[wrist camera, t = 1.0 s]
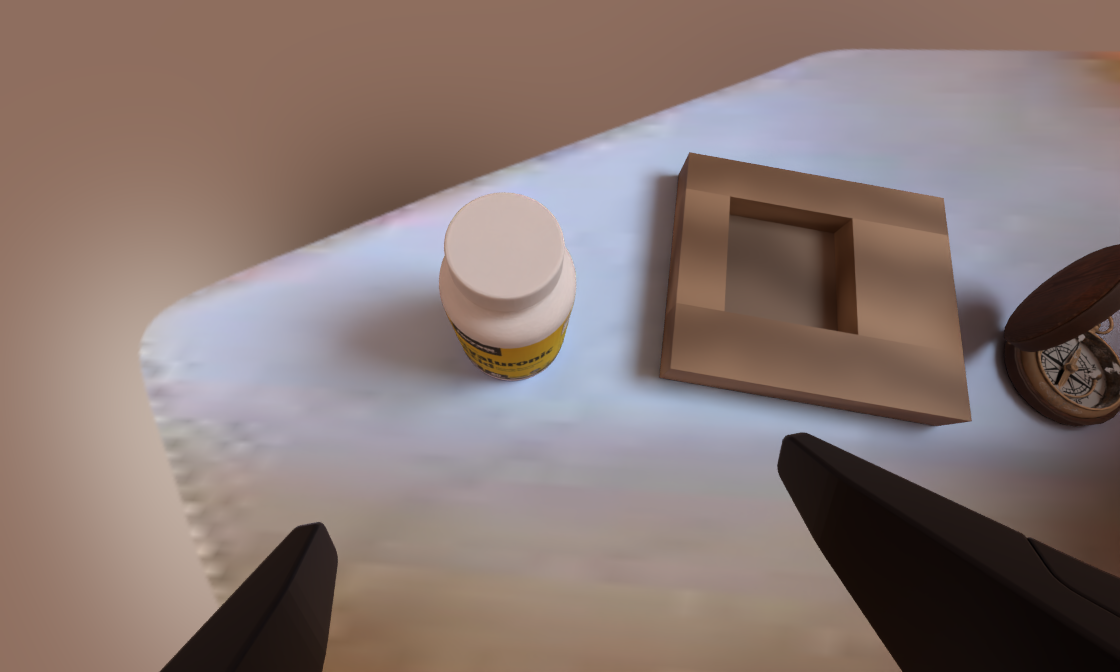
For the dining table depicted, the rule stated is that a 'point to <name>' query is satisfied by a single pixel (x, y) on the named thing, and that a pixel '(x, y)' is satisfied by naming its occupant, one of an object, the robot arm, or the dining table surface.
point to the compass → (1069, 342)
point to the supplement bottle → (507, 284)
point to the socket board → (813, 292)
